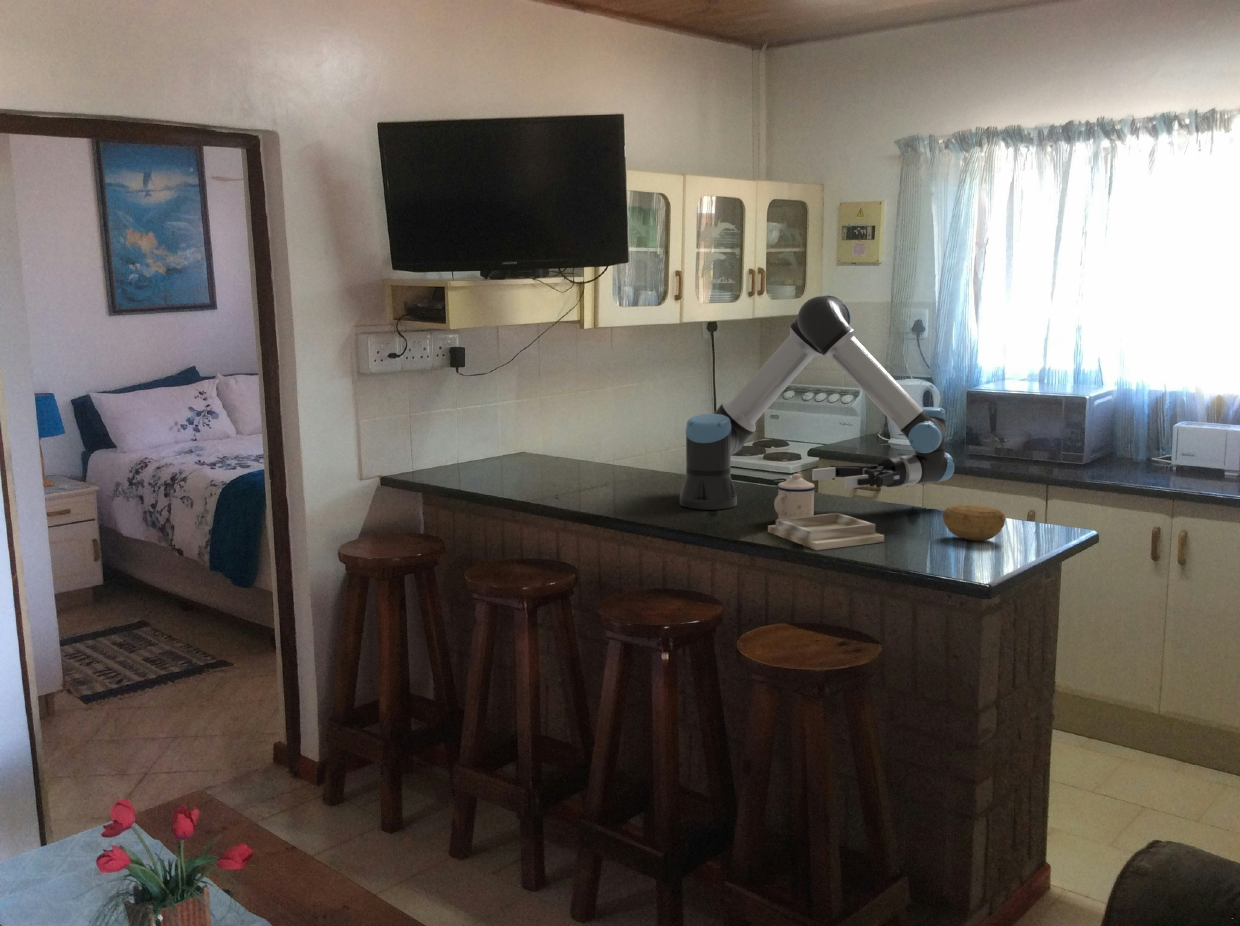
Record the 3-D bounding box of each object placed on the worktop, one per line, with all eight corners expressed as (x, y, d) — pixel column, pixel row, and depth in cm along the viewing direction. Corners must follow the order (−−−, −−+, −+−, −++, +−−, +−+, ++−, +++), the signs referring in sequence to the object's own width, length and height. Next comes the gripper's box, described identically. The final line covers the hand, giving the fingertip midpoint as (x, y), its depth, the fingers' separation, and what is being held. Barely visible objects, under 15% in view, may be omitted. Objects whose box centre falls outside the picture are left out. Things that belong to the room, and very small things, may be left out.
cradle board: (768, 531, 254) (768, 517, 253) (832, 524, 261) (832, 510, 260) (816, 550, 236) (816, 534, 235) (883, 541, 243) (884, 526, 242)
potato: (954, 531, 252) (955, 498, 251) (1011, 541, 242) (1013, 506, 241) (932, 538, 246) (934, 504, 244) (991, 548, 236) (992, 512, 234)
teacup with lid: (793, 515, 272) (794, 470, 270) (822, 521, 265) (823, 474, 263) (761, 522, 264) (761, 475, 262) (789, 528, 257) (790, 480, 255)
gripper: (930, 493, 264) (859, 502, 256) (868, 478, 287) (800, 486, 279) (931, 463, 263) (859, 470, 255) (868, 450, 286) (800, 457, 277)
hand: (828, 478), depth 267 cm, fingers open, 13 cm apart
